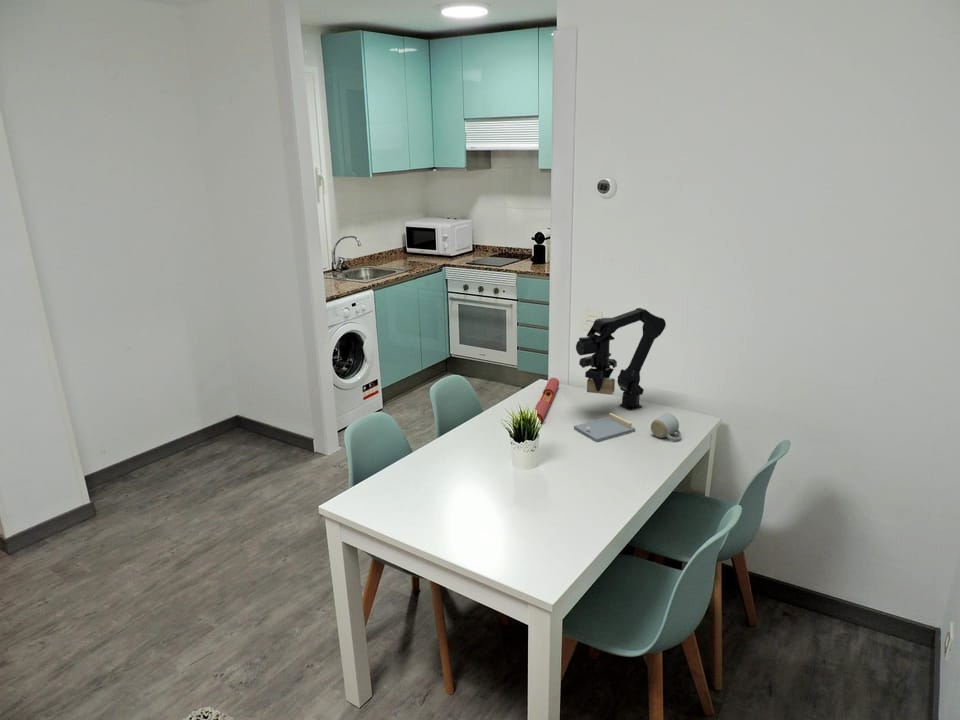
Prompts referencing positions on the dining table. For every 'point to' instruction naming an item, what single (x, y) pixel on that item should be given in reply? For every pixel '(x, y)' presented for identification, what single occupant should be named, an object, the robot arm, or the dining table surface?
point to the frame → (606, 386)
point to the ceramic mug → (666, 427)
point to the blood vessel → (546, 398)
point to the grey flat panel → (605, 428)
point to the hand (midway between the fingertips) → (600, 388)
